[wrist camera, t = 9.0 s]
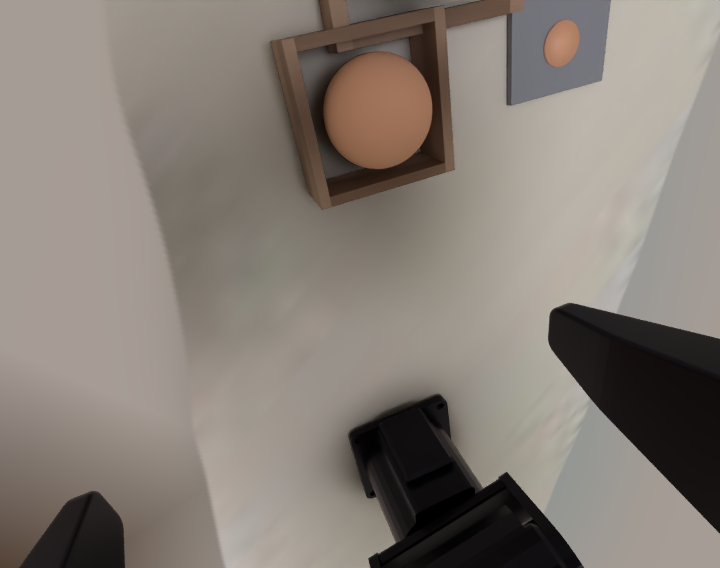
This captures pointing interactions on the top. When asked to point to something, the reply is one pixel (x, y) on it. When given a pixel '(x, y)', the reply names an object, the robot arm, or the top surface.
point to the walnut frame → (429, 62)
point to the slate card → (555, 47)
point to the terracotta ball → (377, 110)
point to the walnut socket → (491, 5)
